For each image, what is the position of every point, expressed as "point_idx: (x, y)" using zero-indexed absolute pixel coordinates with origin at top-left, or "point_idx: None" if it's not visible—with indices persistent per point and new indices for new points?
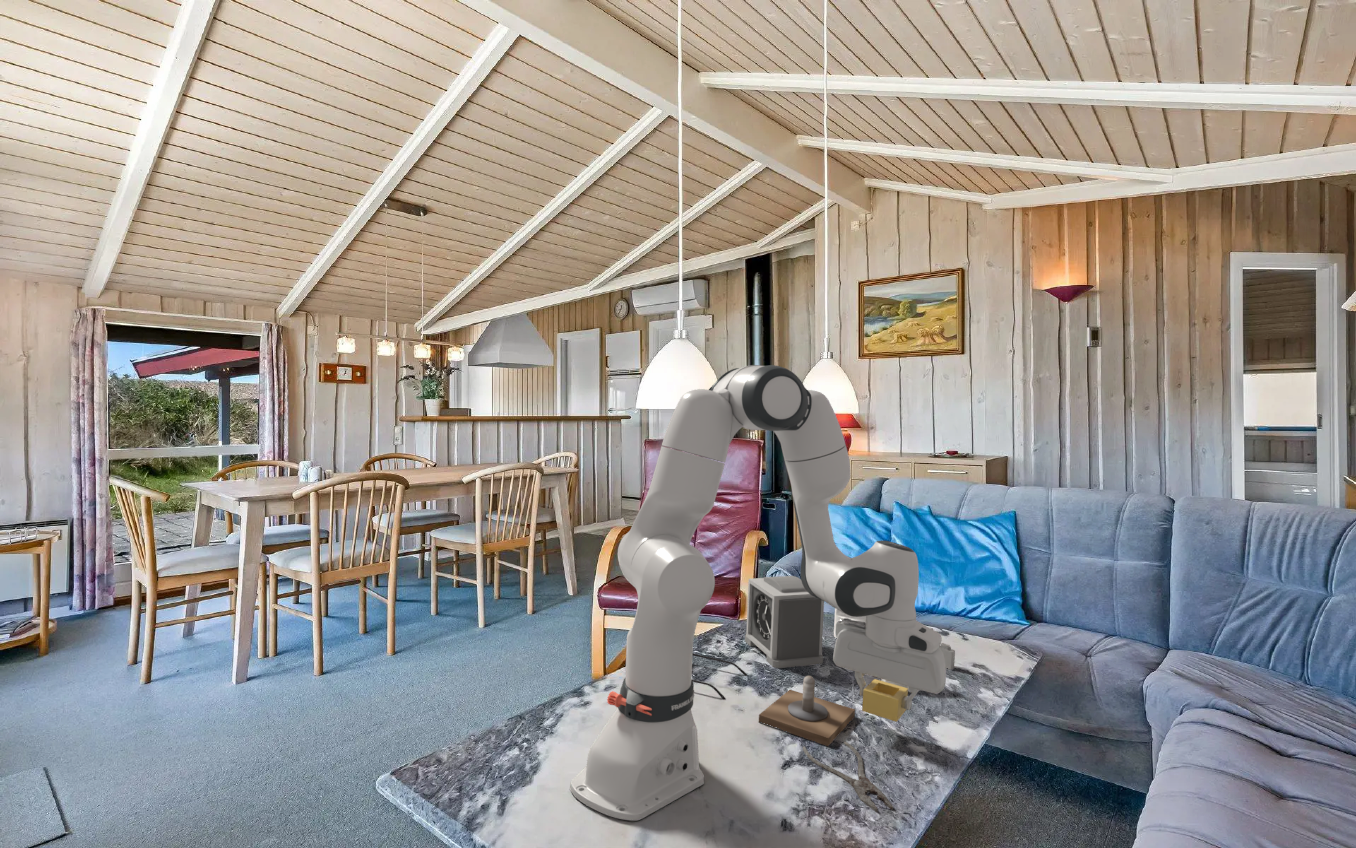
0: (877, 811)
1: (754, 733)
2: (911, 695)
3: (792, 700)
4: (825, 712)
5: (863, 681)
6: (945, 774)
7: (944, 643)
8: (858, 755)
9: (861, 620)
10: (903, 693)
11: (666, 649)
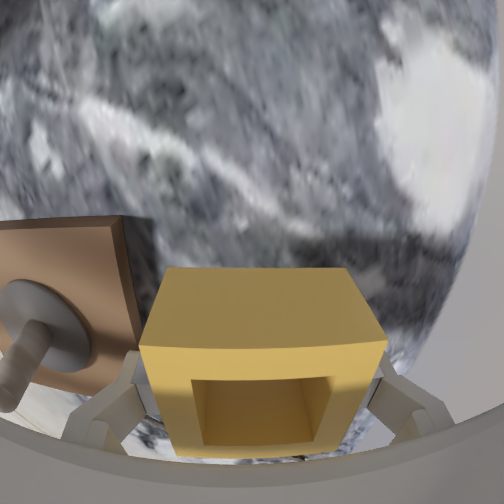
0: (304, 459)
1: (50, 396)
2: (396, 429)
3: None
4: (72, 325)
5: (123, 408)
6: (414, 347)
7: None
8: None
9: None
10: (359, 404)
11: None
